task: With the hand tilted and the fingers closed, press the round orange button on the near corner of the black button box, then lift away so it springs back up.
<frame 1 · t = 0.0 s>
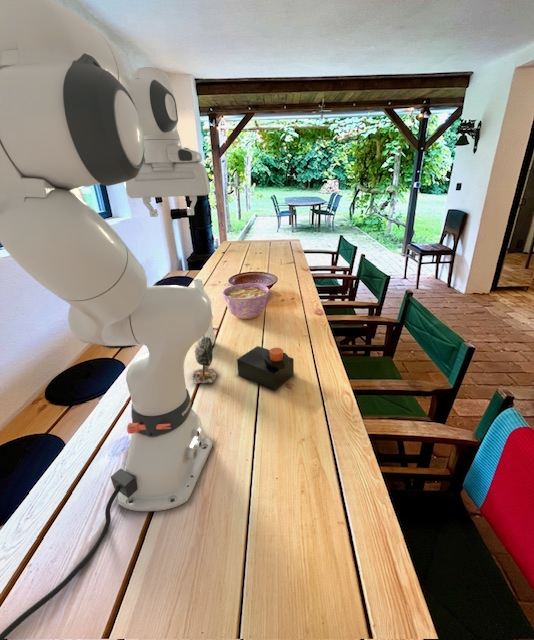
hand: (172, 215, 82), 48 cm above the table, tool pointing down, fingers open, 8 cm apart
water bottle: (206, 345, 119), on the table
plant with pod: (205, 376, 101), on the table
bowl of food: (247, 315, 142), on the table
round orange button: (276, 354, 93), point 9 cm above the table, slide at 0.1 cm
black button box: (265, 375, 100), on the table
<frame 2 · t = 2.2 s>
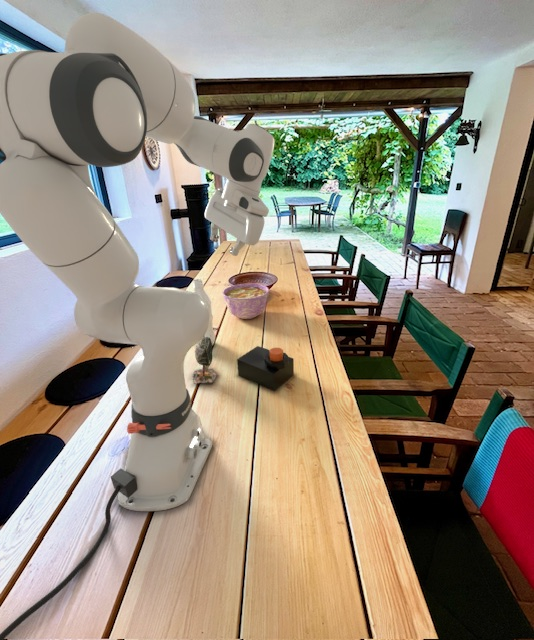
hand: (222, 247, 88), 39 cm above the table, tool tilted 25°, fingers open, 8 cm apart
nothing on the table moved.
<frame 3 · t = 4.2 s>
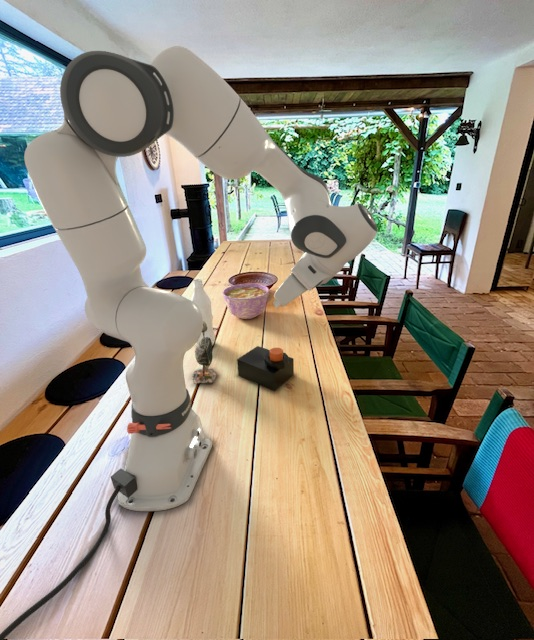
hand: (284, 297, 85), 27 cm above the table, tool tilted 45°, fingers open, 8 cm apart
nothing on the table moved.
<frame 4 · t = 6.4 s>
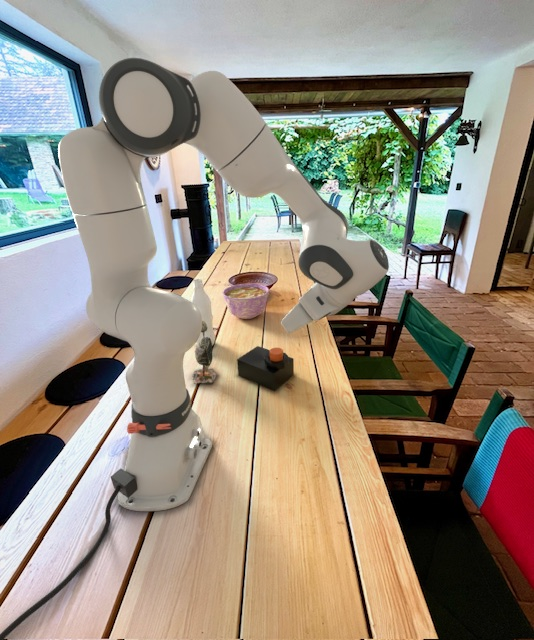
hand: (294, 323, 85), 21 cm above the table, tool tilted 45°, fingers closed
nothing on the table moved.
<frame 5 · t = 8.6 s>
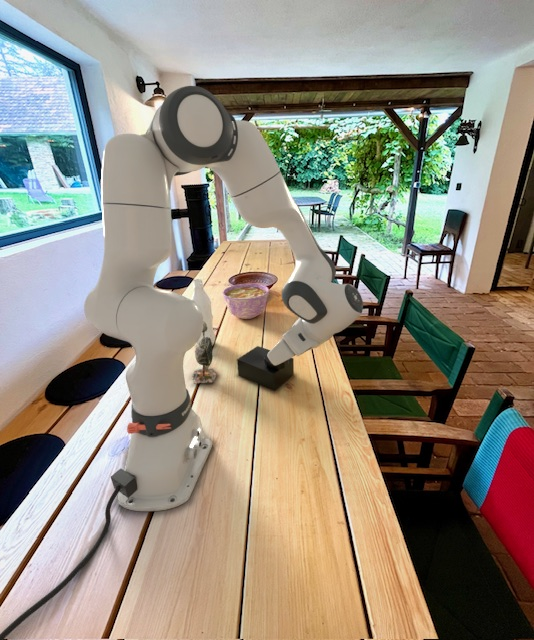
hand: (281, 352, 92), 10 cm above the table, tool tilted 45°, fingers closed, pressing on round orange button
round orange button: (276, 355, 94), point 9 cm above the table, slide at -0.2 cm, touching gripper
everything else where it was.
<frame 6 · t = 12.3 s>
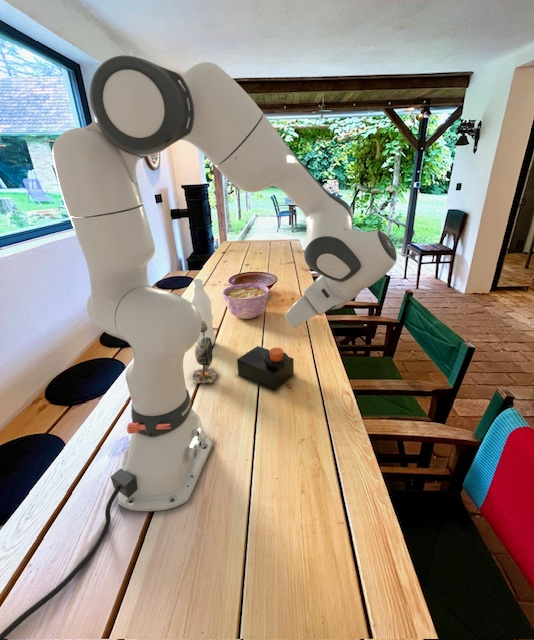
hand: (298, 318, 83), 22 cm above the table, tool tilted 45°, fingers closed
round orange button: (276, 354, 93), point 9 cm above the table, slide at 0.1 cm
everything else where it was.
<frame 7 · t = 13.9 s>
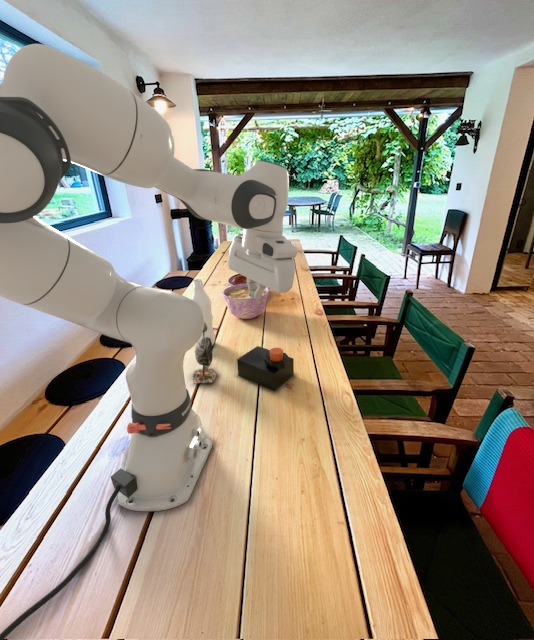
hand: (254, 297, 79), 29 cm above the table, tool pointing down, fingers closed
nothing on the table moved.
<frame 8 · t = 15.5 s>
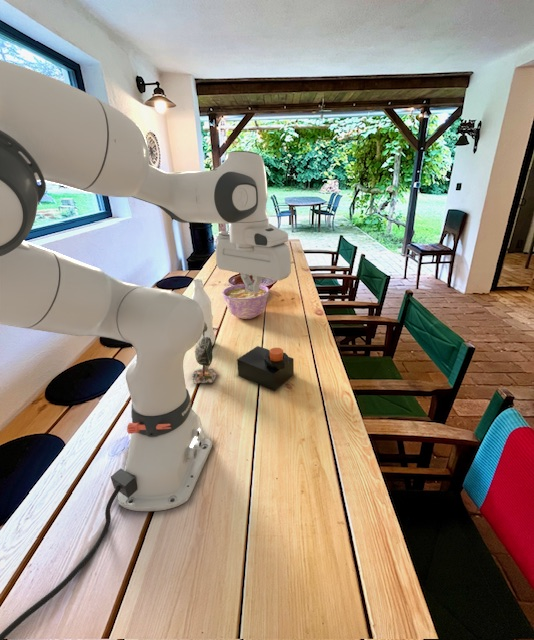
hand: (252, 291, 78), 31 cm above the table, tool pointing down, fingers closed
nothing on the table moved.
at the end: round orange button pushed in 1.5 cm at the most during the clip, back to where it started at the end; round orange button slide at 0.1 cm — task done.
